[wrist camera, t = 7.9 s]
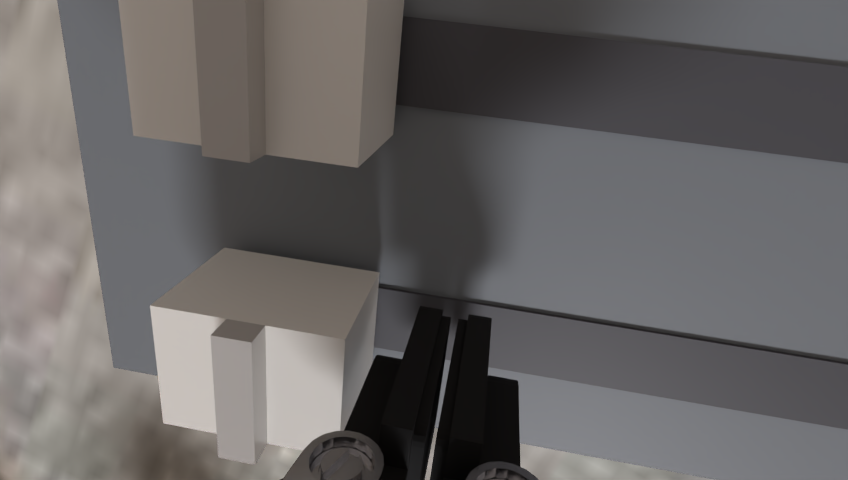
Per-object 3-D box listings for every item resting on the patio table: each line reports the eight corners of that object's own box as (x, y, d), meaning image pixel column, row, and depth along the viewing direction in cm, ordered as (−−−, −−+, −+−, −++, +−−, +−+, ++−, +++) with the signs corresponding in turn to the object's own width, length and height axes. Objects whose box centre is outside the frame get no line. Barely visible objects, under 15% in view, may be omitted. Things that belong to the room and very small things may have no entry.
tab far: (379, 272, 13) (335, 357, 9) (371, 372, 14) (330, 479, 11) (224, 247, 13) (130, 320, 10) (229, 347, 14) (146, 442, 11)
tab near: (405, -18, 10) (358, -40, 7) (393, 134, 11) (348, 177, 8) (213, -38, 11) (80, -69, 7) (220, 110, 12) (109, 142, 8)
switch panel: (1261, -25, 10) (1393, -34, 8) (930, 481, 15) (976, 531, 13) (87, -134, 12) (29, -156, 11) (145, 340, 17) (111, 369, 16)
